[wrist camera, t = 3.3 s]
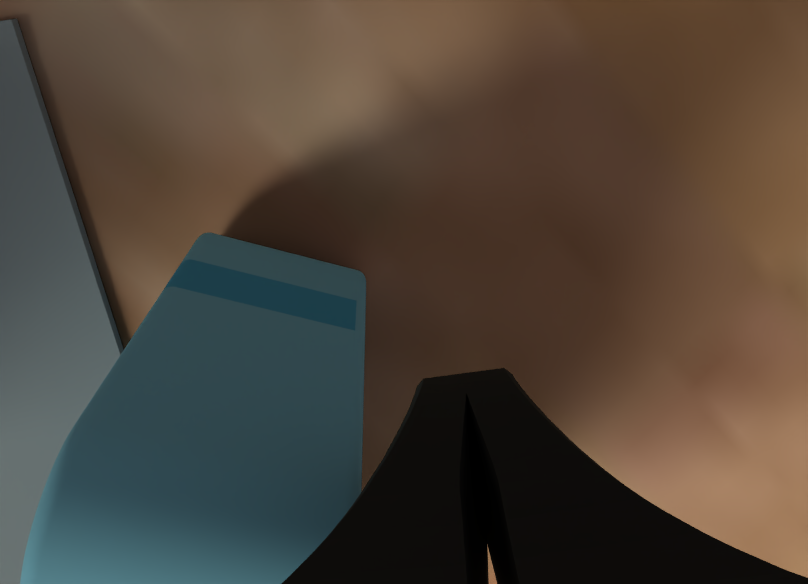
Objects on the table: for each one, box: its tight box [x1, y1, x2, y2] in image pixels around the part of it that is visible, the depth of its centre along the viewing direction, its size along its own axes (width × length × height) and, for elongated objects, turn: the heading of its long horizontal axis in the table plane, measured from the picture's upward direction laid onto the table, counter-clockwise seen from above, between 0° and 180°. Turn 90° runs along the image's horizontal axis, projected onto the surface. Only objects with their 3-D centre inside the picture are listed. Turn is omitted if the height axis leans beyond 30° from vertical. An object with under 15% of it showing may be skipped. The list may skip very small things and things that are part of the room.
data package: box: [20, 233, 366, 584], centre depth 18 cm, size 12×4×12 cm, turn 163°
